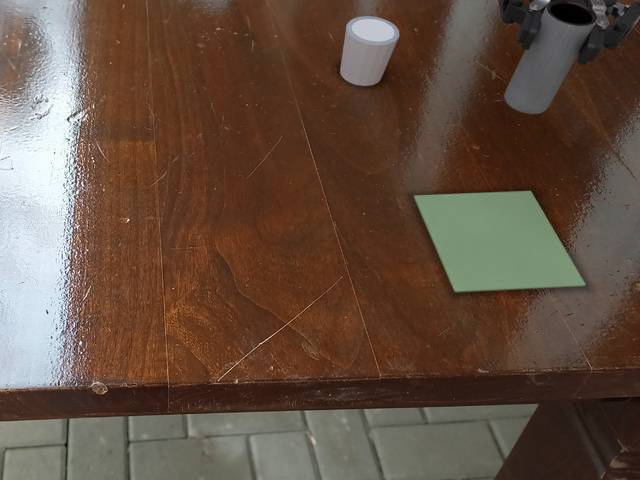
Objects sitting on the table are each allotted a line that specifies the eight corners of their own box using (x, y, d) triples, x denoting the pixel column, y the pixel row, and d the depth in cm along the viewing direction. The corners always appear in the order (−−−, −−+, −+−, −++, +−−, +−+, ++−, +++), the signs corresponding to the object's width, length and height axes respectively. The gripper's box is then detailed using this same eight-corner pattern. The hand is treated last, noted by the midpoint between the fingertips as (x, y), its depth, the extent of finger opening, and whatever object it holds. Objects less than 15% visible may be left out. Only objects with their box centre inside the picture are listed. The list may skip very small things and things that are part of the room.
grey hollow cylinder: (507, 112, 72) (552, 22, 64) (500, 86, 75) (542, -3, 67) (552, 117, 71) (603, 27, 63) (543, 90, 74) (591, 1, 66)
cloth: (529, 193, 81) (531, 190, 81) (583, 287, 72) (586, 285, 72) (412, 198, 80) (414, 195, 80) (453, 294, 71) (455, 291, 71)
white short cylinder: (340, 90, 93) (352, 44, 88) (330, 60, 97) (341, 15, 92) (390, 90, 93) (405, 44, 88) (378, 60, 98) (392, 15, 92)
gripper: (522, -83, 74) (495, -8, 64) (669, -52, 70) (663, 33, 60) (495, -16, 80) (466, 62, 70) (628, 16, 76) (617, 103, 66)
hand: (557, 48), depth 65 cm, fingers closed on grey hollow cylinder, 4 cm apart
